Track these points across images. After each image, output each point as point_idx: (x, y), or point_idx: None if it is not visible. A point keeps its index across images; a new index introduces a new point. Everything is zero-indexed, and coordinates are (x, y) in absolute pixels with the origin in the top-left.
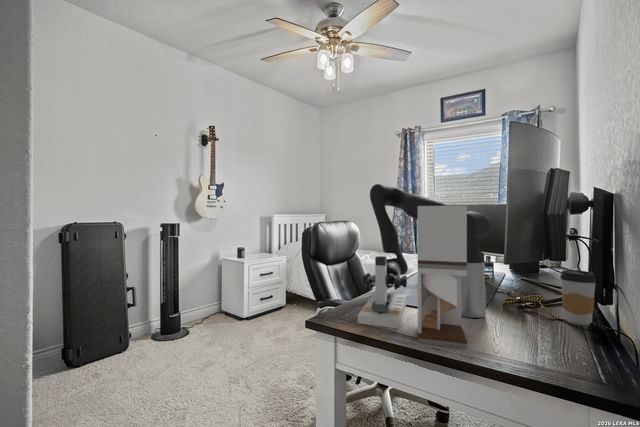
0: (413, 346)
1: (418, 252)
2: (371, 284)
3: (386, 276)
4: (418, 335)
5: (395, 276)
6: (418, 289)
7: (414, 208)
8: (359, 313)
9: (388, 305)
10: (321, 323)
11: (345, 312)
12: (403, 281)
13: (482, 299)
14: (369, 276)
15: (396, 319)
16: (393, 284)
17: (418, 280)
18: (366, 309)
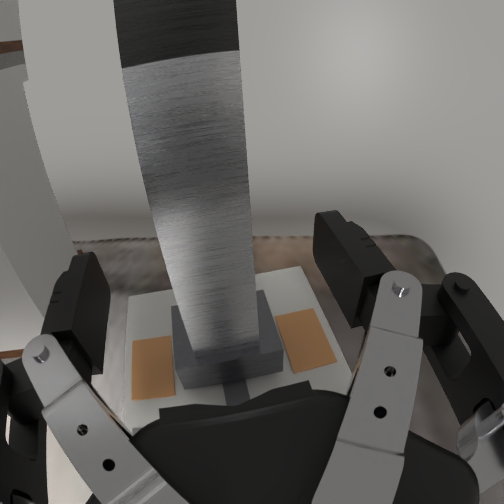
0: (101, 248)
1: (17, 18)
2: (350, 322)
3: (148, 193)
4: (80, 251)
5: (59, 398)
6: (33, 137)
7: None
8: (304, 280)
9: (171, 310)
10: (389, 240)
11: (422, 355)
12: (11, 363)
13: None
14: (494, 412)
15: (137, 296)
16: (131, 433)
17: (25, 108)
18: (306, 331)
